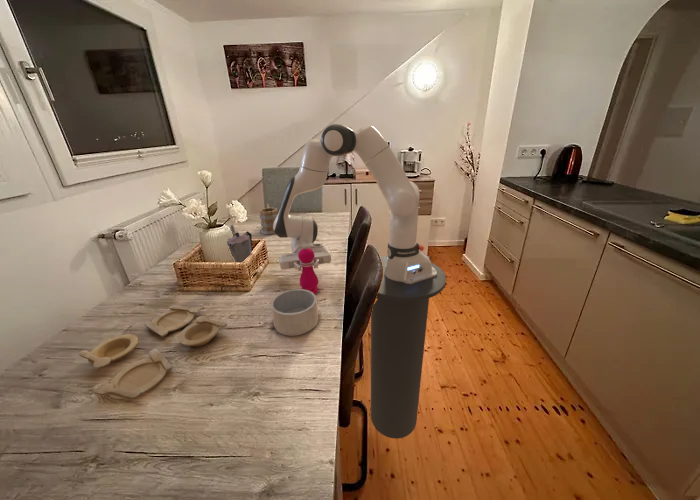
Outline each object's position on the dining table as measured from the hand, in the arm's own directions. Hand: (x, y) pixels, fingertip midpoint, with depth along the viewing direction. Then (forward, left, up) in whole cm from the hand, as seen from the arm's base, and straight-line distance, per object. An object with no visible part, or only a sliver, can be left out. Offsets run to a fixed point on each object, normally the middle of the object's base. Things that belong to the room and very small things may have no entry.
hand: (308, 267), depth 106 cm
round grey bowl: (+7, +16, -11) cm, 21 cm away
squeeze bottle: (+30, -43, -11) cm, 54 cm away
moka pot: (+25, -25, -11) cm, 37 cm away
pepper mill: (0, -1, -11) cm, 11 cm away
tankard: (+13, -84, -11) cm, 86 cm away
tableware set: (+48, +16, -11) cm, 52 cm away
